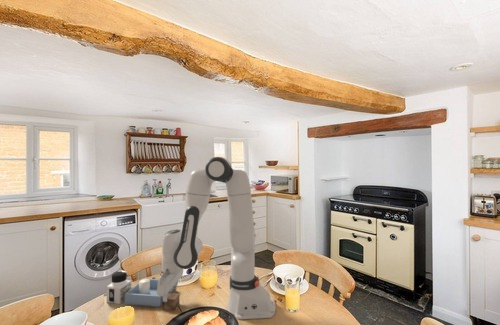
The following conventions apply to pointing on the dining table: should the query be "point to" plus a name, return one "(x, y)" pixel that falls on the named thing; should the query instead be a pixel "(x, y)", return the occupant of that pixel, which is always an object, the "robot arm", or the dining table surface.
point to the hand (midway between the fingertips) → (170, 295)
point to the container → (118, 287)
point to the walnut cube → (172, 301)
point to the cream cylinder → (144, 286)
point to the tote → (145, 296)
